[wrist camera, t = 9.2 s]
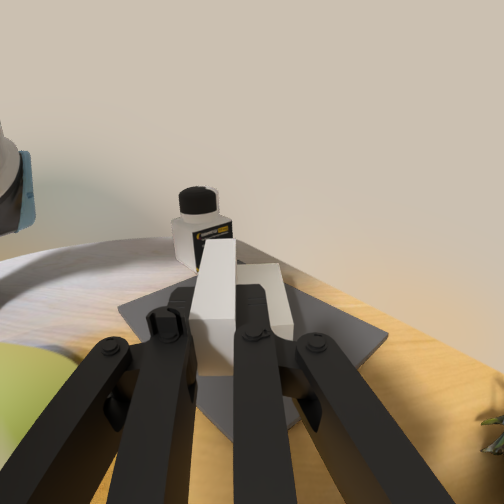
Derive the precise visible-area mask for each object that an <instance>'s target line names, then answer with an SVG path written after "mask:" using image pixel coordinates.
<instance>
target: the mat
mask: <svg viewBox="0 0 504 504" xmlns="http://www.w3.org/2000/svg"><path fill="white" fill-rule="evenodd" d="M241 264H245V263H243V262H241V261H239V260H237V265H241ZM197 277H198V275H197V276H195V277H192V278H190V279H187V280H185V281H182V282H179V283H177V284H174V285H172V286H169V287H167V288H164V289H162V290H159V291H156V292H154V293H151V294H149V295H146V296H144V297H141V298H138V299H136V300H133V301H131V302H128V303H126V304H123V305H121V306H118V311H119V313H120V314H121V315H122V317H123V318H124V320H125V321H126V322H127V324H128V325H129V326H130V328H131V329H132V330H133V332H134V333H135V334H136V336H137V337H138V338H139V339H140V341H141V342H142V343H143V342H146V341H148V340H150V337H151V336H150V332H149V328H148V324H147V320H146V316H147V315H148V313H149V312H150V311H152V310H153V309H156V308H158V307H162V306H167V304H168V302H169V298H170V295H171V293H172V292H173V291H174V290H175V289H176V288H177V287H195V286H196V282H197ZM284 287H285V291H286V295H287V299H288V303H289V307H290V311H291V315H292V319H293V323H294V329H293V341H297V340H298V339H299V338H300V337H301V336H302V335H304V334H307V333H313V332H318V333H324V334H326V335H328V336H330V337H331V338H332V339H334V340H335V342H336V343H337V344H338V346H339V347H340V348H341V350H342V351H343V352H344V354H345V355H346V356H347V357H348V359H349V360H350V361H351V363H352V364H353V365H354V367H355V368H356V369H358V368H359V367H360V366H361V365H362V364H363V363H364V362H365V361H366V360H367V359H368V358H369V357H370V356H371V355H372V354H373V353H374V352H375V351H376V350H377V349H378V348H379V347H380V346H381V345H382V343H383V342H384V341H385V340H386V339H387V337H388V333H387V332H385V331H383V330H381V329H379V328H377V327H375V326H372V325H370V324H368V323H366V322H364V321H362V320H360V319H358V318H356V317H354V316H352V315H350V314H347V313H345V312H343V311H341V310H339V309H337V308H335V307H333V306H331V305H329V304H327V303H325V302H323V301H321V300H319V299H317V298H314V297H312V296H310V295H308V294H306V293H304V292H302V291H300V290H298V289H296V288H294V287H292V286H290V285H288V284H286V283H284ZM196 379H197V384H198V391H197V401H196V406H197V407H198V408H199V409H200V410H201V412H202V413H203V414H204V415H205V416H206V417H207V418H208V419H209V420H210V421H211V422H212V423H213V424H214V425H215V426H216V427H217V428H218V429H219V430H220V431H221V432H222V433H223V434H224V435H225V436H226V437H227V438H228V439H229V440H230V441H231V442H232V443H233V376H199V375H198V369H197V375H196ZM283 403H284V410H285V417H286V424H287V430H288V429H290V428H291V427H292V426H293V425H295V424H296V423H297V422H298V421H300V420H301V417H300V415H299V413H298V411H297V409H296V407H295V405H294V403H293V401H292V398H291V397H286V396H283Z"/></svg>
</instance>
